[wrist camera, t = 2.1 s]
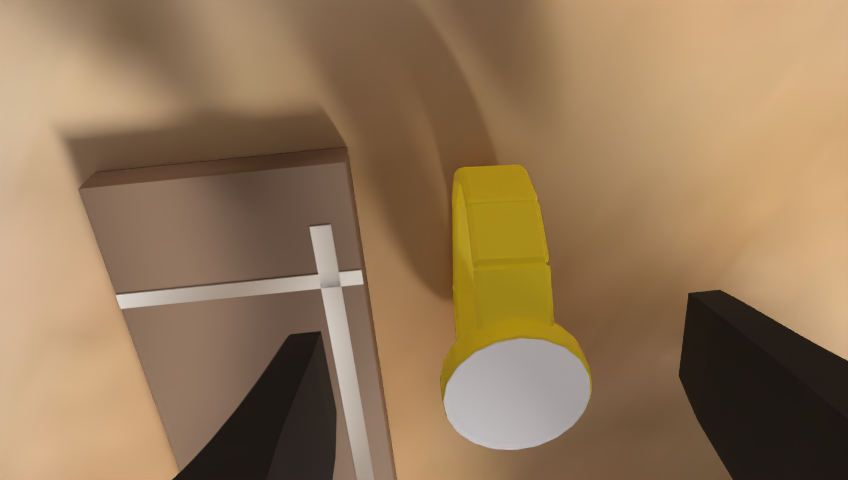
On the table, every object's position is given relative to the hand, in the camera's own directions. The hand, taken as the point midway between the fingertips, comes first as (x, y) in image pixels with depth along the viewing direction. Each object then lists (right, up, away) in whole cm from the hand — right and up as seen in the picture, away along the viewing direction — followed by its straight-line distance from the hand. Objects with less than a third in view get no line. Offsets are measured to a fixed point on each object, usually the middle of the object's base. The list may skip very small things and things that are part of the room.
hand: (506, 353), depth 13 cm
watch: (0, +2, +4) cm, 5 cm away
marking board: (-6, -5, +7) cm, 10 cm away
